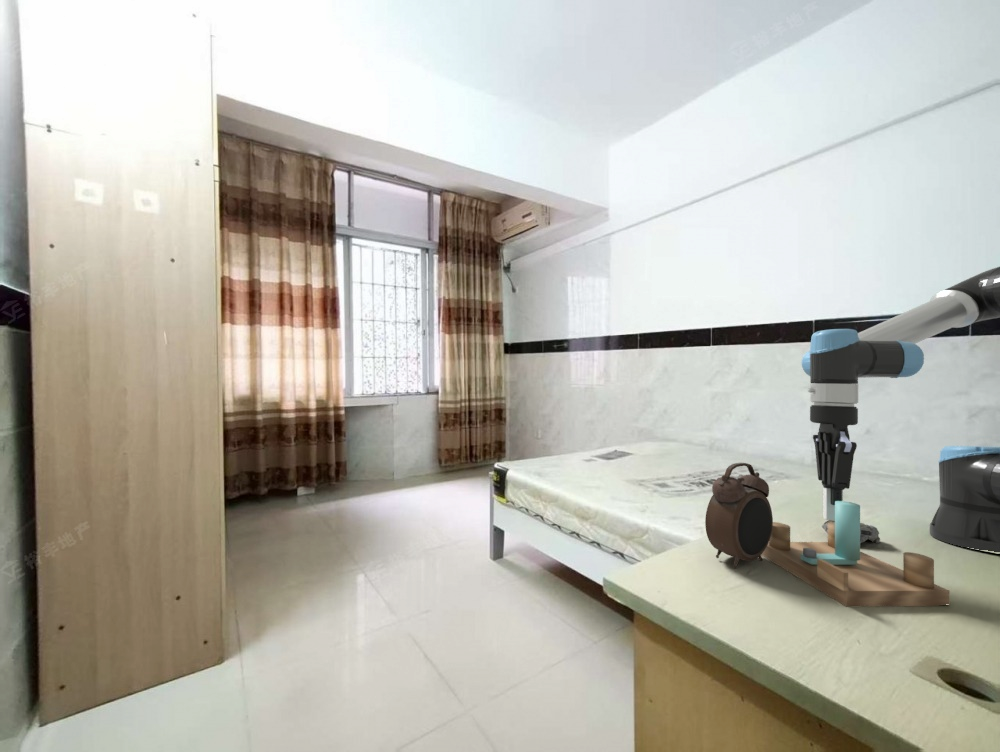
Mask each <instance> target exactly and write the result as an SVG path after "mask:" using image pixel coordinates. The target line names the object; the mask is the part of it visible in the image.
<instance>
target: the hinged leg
mask: <svg viewBox="0 0 1000 752" xmlns="http://www.w3.org/2000/svg"><path fill="white" fill-rule="evenodd" d="M860 523H861V505H860V504H858V503H856V502H851V501H845V500H843V501H835V554H817V551H816V550H814V549H810V548H803V554H801V559H802V560H804V561H806V562H807V563H809V564H811V565H817V559H822V560H824V561H826V562H828V563H830V564H832V565H857V561H858V560H860V552H861V543H860Z"/></svg>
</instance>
